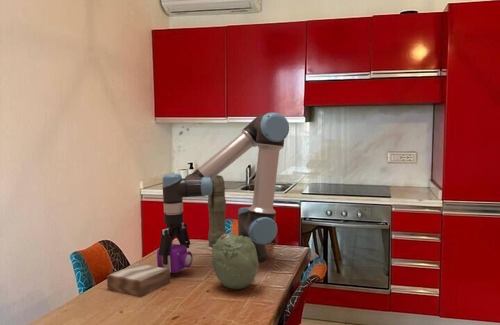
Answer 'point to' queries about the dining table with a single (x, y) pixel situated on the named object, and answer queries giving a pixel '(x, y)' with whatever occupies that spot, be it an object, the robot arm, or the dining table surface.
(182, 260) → the toy camera
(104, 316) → the dining table surface
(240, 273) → the cabbage
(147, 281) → the stand
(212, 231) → the olive green segmented column
